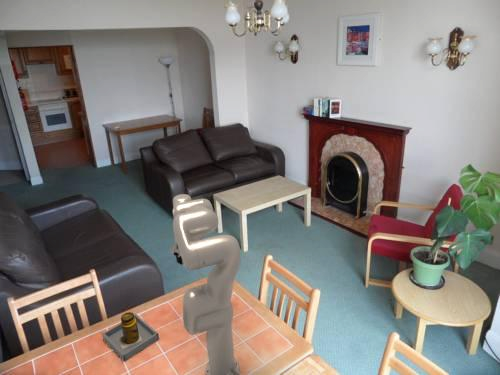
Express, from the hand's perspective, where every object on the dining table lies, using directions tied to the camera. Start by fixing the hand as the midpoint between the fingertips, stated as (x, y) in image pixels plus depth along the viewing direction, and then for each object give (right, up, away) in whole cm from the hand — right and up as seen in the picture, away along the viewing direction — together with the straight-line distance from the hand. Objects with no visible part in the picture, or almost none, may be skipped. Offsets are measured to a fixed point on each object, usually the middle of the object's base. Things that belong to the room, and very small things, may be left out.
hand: (189, 258), depth 161 cm
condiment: (-24, -33, -5) cm, 41 cm away
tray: (-24, -33, -4) cm, 41 cm away
